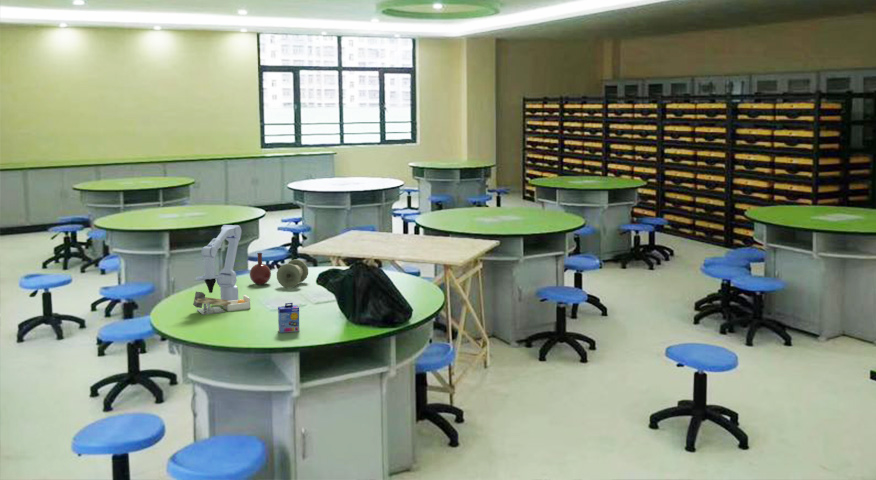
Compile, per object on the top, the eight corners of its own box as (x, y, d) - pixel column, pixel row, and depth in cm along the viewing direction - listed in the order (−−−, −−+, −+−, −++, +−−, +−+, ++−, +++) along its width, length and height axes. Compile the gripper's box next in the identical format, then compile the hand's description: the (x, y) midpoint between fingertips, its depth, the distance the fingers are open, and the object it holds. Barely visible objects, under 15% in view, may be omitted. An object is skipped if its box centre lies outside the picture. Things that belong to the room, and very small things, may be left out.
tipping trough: (196, 307, 403) (198, 293, 403) (190, 302, 413) (193, 289, 412) (229, 311, 412) (231, 297, 412) (223, 306, 422) (226, 293, 422)
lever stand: (219, 307, 419) (218, 297, 418) (224, 312, 408) (224, 302, 408) (196, 310, 412) (196, 300, 412) (202, 315, 402) (201, 304, 401)
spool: (285, 282, 487) (285, 259, 484) (308, 282, 485) (307, 259, 482) (277, 287, 470) (276, 263, 468) (300, 288, 468) (299, 264, 466)
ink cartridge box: (280, 333, 368) (279, 304, 365) (277, 330, 373) (277, 301, 371) (300, 331, 371) (299, 302, 369) (297, 328, 376) (297, 300, 374)
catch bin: (245, 305, 425) (244, 294, 424) (250, 308, 417) (249, 297, 416) (223, 307, 419) (222, 297, 418) (227, 311, 410) (227, 300, 409)
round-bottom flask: (268, 286, 472) (267, 255, 469) (247, 286, 473) (246, 255, 470) (273, 282, 485) (272, 251, 482) (253, 282, 486) (251, 251, 483)
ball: (239, 297, 420) (235, 303, 419) (241, 298, 416) (237, 304, 415) (245, 301, 422) (240, 307, 421) (247, 302, 418) (243, 308, 417)
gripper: (197, 270, 407) (199, 295, 409) (224, 268, 414) (225, 292, 416) (194, 268, 413) (195, 292, 415) (221, 266, 420) (222, 290, 422)
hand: (210, 292), depth 416 cm, fingers closed
